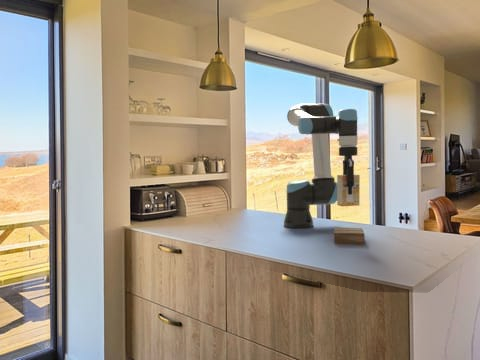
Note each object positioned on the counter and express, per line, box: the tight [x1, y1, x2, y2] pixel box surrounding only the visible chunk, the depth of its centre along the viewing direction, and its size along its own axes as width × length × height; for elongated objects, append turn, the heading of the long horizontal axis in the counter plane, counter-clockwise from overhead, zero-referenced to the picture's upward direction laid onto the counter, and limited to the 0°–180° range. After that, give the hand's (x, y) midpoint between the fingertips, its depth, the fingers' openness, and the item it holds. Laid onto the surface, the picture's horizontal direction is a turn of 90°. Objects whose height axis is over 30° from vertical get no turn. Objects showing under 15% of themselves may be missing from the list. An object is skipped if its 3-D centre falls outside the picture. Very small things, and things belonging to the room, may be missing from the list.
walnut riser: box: [333, 226, 365, 246], centre depth 173 cm, size 12×12×5 cm
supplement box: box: [336, 174, 361, 207], centre depth 171 cm, size 8×5×13 cm, turn 101°
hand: (348, 201), depth 171 cm, fingers closed on supplement box, 6 cm apart
